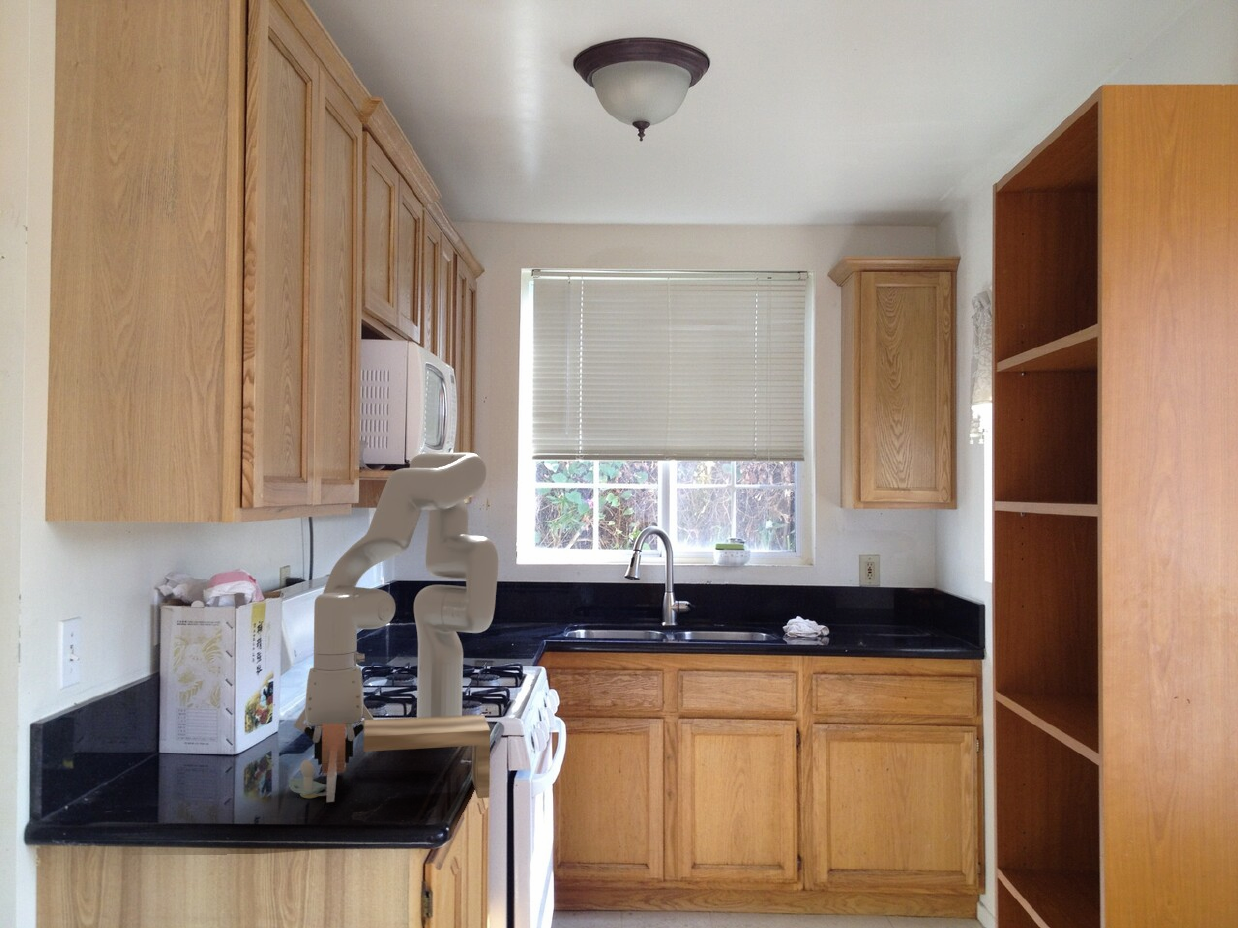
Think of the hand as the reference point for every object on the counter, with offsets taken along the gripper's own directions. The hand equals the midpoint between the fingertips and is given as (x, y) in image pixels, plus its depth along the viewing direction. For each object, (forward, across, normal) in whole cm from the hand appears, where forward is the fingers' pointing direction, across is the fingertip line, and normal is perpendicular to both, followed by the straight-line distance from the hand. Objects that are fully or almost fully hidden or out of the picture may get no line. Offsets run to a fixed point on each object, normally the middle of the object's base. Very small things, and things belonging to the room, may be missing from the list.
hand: (333, 760), depth 173 cm
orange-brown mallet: (+2, 0, +8) cm, 8 cm away
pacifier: (+3, +3, +9) cm, 10 cm away
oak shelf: (+3, -16, +12) cm, 20 cm away
